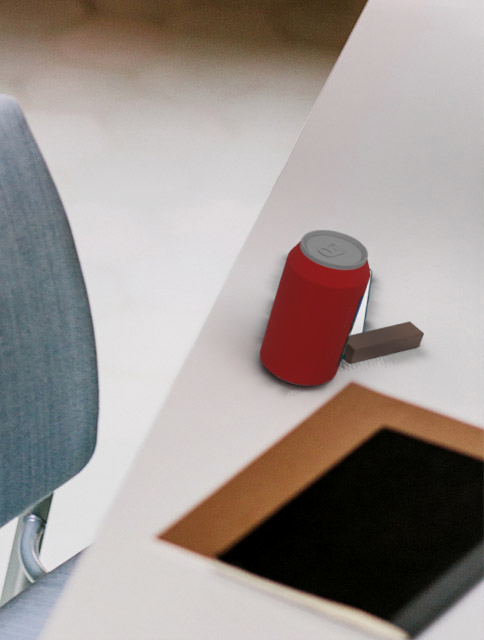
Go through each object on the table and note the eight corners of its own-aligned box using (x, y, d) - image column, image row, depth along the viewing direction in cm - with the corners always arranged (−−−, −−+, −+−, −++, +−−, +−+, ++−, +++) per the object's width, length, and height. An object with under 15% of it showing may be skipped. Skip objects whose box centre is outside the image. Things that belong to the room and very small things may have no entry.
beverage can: (351, 378, 102) (394, 257, 94) (297, 402, 98) (337, 278, 90) (295, 337, 106) (332, 218, 98) (240, 358, 102) (274, 236, 94)
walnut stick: (404, 334, 108) (409, 320, 107) (419, 346, 107) (424, 333, 106) (335, 351, 105) (340, 337, 104) (349, 364, 103) (354, 350, 102)
